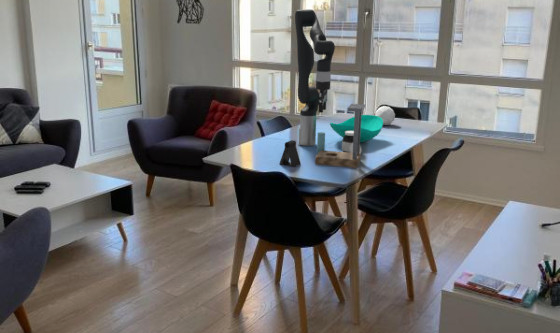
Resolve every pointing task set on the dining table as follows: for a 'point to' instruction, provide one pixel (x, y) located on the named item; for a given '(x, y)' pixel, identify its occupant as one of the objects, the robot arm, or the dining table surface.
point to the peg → (320, 142)
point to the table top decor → (368, 127)
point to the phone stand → (290, 155)
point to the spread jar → (348, 142)
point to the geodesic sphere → (386, 115)
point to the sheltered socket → (345, 157)
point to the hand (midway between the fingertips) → (322, 111)
